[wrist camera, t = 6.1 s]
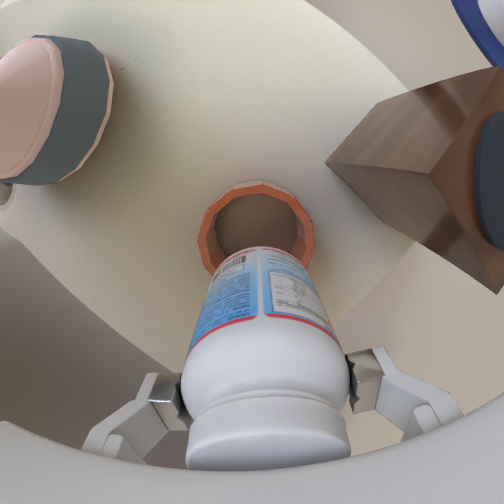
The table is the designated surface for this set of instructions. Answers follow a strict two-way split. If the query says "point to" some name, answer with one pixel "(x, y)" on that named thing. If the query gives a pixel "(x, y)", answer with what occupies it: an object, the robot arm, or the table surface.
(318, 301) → the pill bottle
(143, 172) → the table surface
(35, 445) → the robot arm
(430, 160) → the riser
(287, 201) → the desk pot
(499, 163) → the coaster
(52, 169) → the desk lamp
